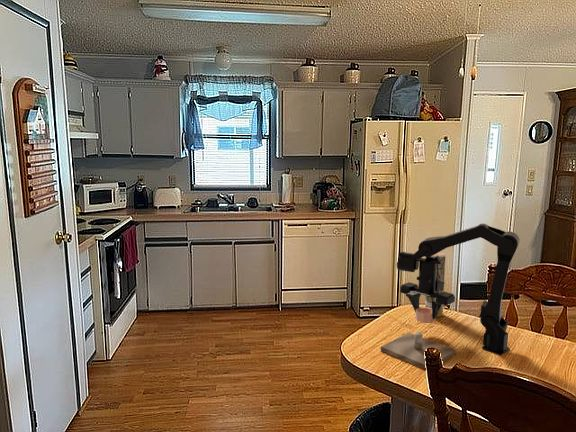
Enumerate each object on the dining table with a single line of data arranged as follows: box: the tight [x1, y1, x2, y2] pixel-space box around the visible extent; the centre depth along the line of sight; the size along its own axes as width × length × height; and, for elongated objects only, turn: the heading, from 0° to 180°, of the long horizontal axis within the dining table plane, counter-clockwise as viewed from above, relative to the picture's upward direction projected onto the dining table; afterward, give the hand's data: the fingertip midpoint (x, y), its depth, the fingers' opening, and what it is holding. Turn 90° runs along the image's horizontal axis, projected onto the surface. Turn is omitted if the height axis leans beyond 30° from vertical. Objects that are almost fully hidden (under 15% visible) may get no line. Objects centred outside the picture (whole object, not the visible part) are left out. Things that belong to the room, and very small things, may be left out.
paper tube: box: [424, 251, 446, 318], centre depth 176 cm, size 7×7×25 cm
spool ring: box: [415, 306, 437, 324], centre depth 159 cm, size 6×6×4 cm
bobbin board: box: [380, 331, 457, 371], centre depth 146 cm, size 18×16×6 cm
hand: (425, 316), depth 159 cm, fingers closed on spool ring, 6 cm apart
